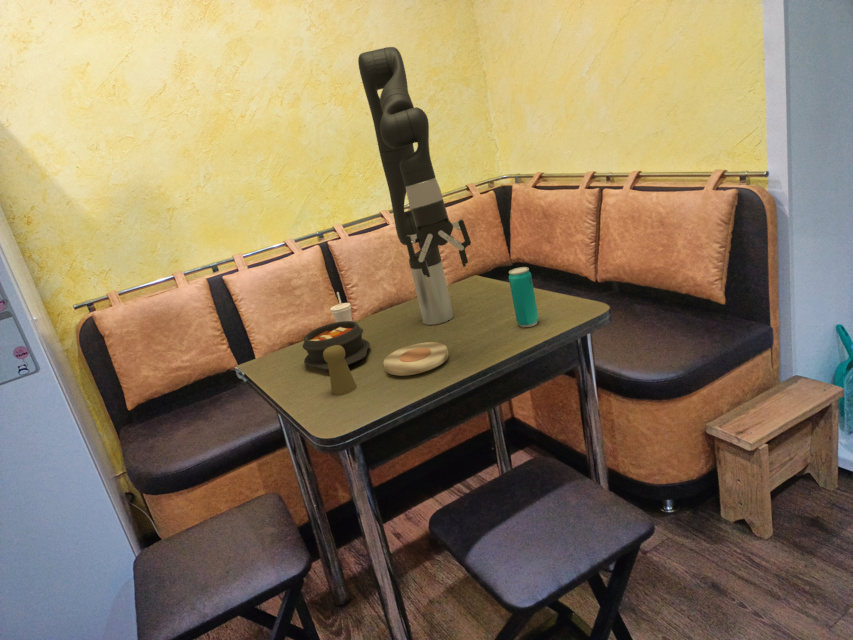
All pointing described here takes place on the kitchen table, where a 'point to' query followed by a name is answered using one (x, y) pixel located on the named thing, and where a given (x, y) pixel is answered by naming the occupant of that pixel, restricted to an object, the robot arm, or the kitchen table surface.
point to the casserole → (335, 343)
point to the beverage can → (523, 297)
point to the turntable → (416, 358)
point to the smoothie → (342, 311)
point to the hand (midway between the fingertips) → (446, 271)
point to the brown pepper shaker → (339, 370)
